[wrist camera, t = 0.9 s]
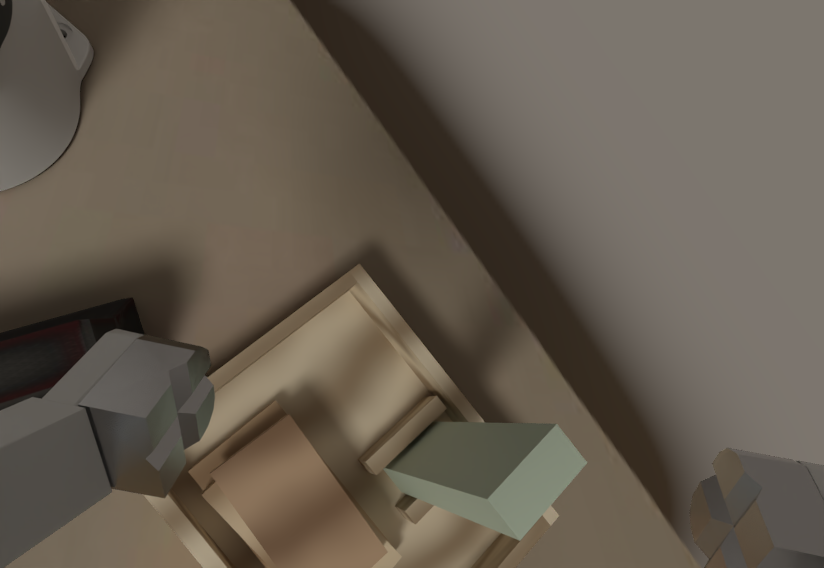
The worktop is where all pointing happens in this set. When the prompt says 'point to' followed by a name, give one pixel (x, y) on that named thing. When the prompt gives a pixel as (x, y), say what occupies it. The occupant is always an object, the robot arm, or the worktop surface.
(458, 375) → the worktop surface
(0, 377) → the barrier
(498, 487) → the sage green plank
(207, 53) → the worktop surface
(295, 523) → the offcut stack
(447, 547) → the beige wooden tray
